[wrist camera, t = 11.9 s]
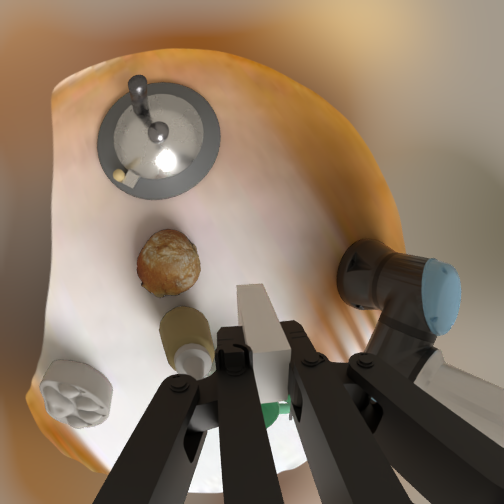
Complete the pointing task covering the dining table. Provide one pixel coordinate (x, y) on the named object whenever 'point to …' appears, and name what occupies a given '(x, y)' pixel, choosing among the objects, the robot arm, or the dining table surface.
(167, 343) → the squeeze bottle
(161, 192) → the base pad
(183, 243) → the bread roll
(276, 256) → the dining table surface
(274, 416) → the mug
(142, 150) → the flange plate
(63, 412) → the lumpy-topped squat cylinder
